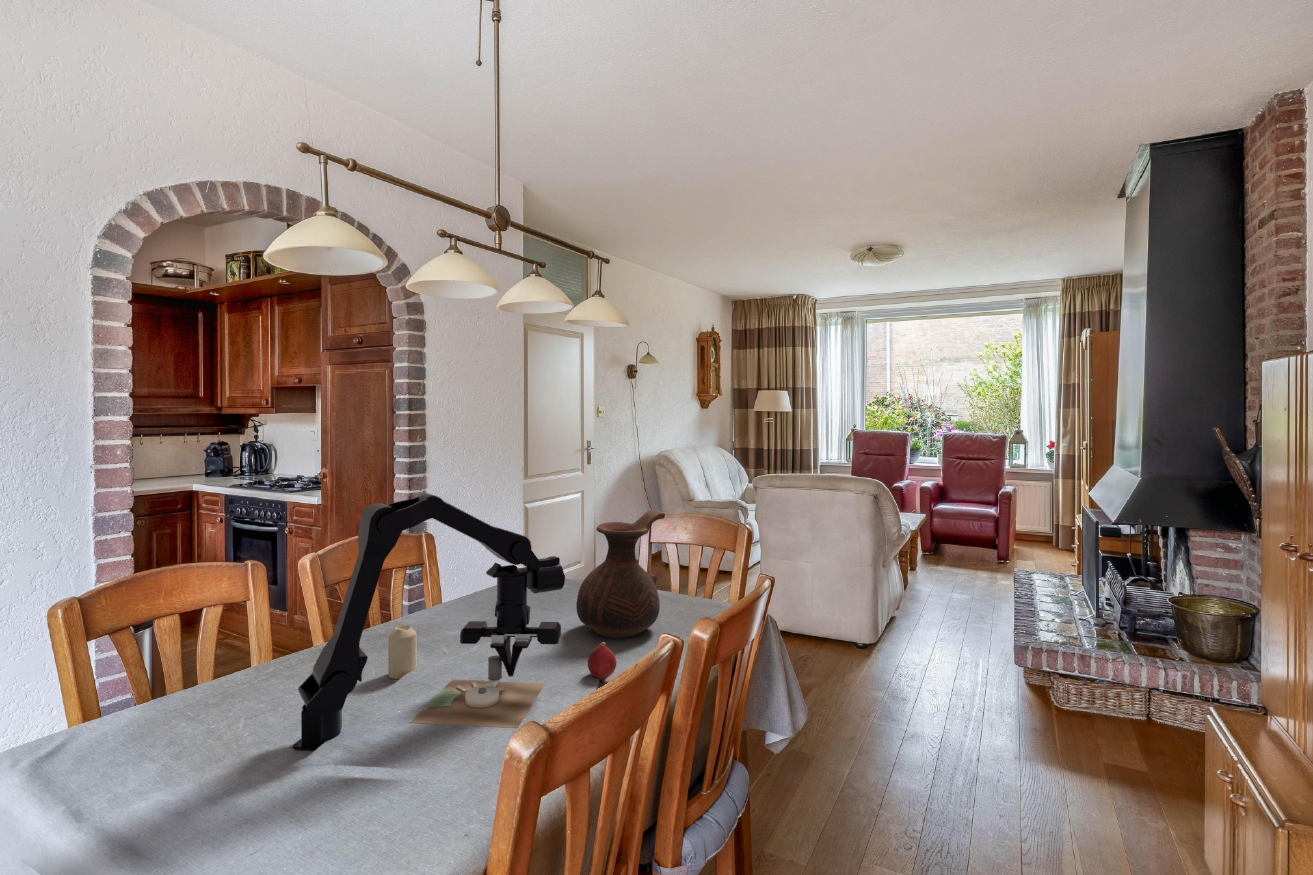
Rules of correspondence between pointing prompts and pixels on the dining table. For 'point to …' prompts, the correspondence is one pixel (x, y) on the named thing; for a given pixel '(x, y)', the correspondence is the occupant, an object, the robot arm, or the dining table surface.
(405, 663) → the candle
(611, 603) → the jug
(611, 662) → the onion
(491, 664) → the needle
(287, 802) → the dining table surface
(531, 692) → the dial board
